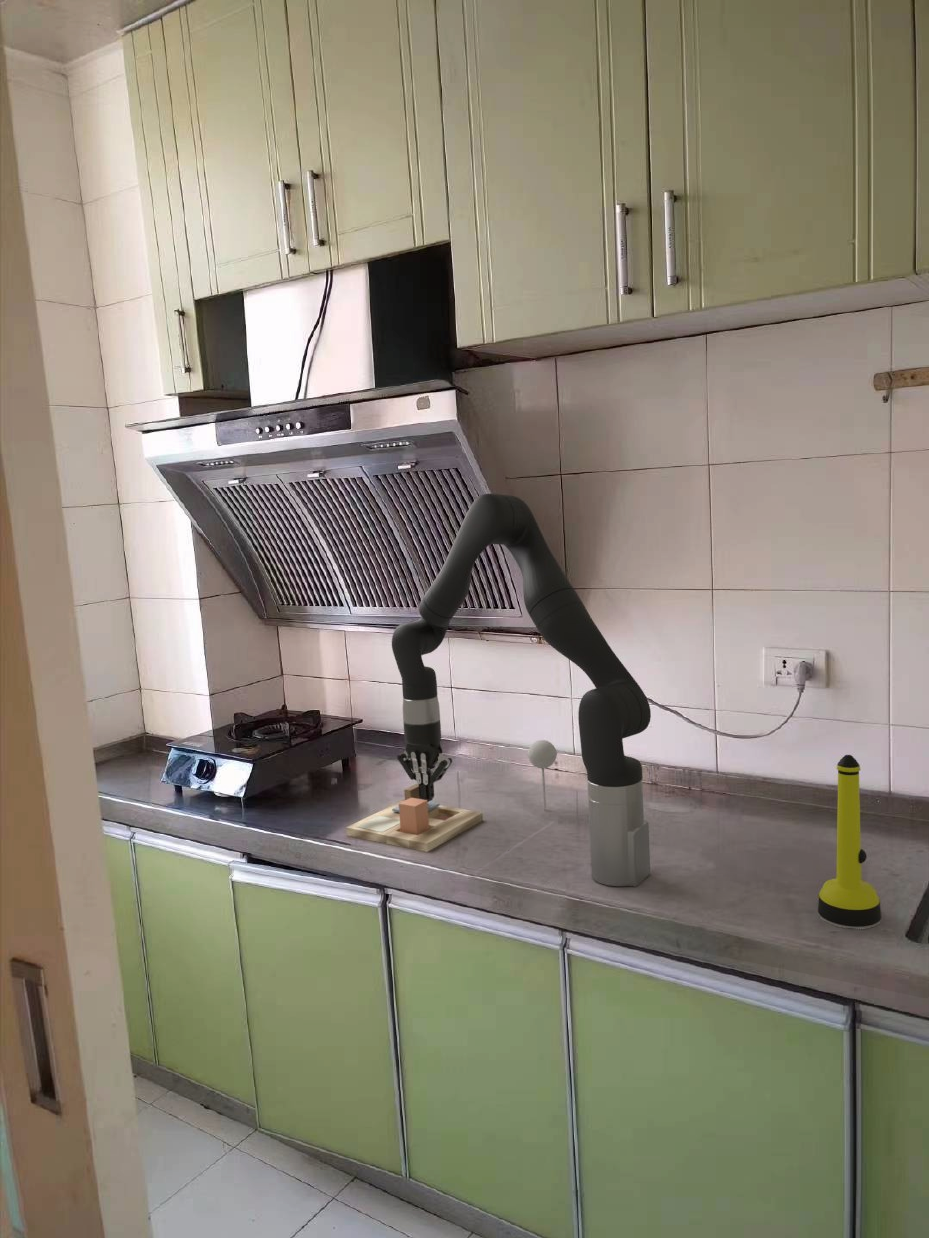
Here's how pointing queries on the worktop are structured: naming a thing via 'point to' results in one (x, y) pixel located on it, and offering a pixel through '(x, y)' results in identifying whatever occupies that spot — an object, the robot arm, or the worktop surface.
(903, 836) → the worktop surface
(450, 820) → the board
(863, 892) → the flashlight
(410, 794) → the lid
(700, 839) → the worktop surface
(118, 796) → the worktop surface
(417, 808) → the block
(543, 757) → the lollipop
